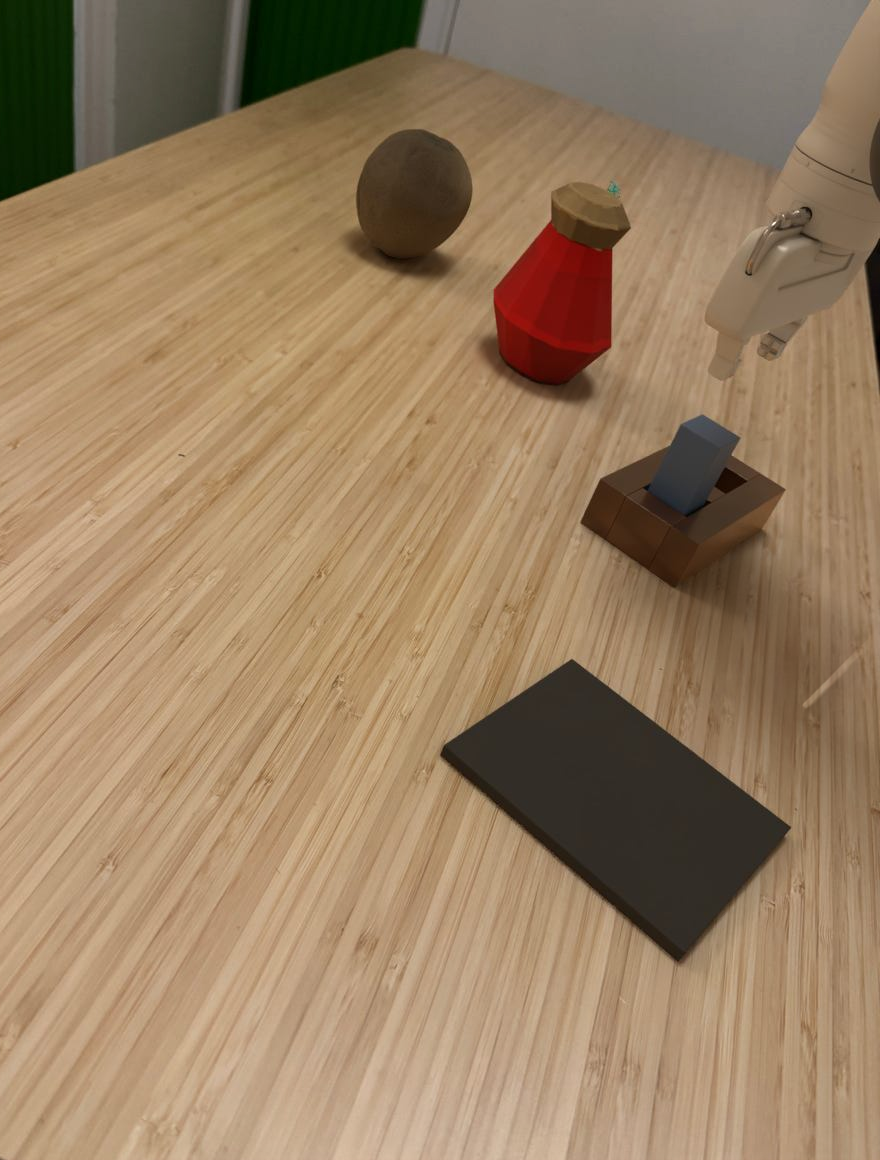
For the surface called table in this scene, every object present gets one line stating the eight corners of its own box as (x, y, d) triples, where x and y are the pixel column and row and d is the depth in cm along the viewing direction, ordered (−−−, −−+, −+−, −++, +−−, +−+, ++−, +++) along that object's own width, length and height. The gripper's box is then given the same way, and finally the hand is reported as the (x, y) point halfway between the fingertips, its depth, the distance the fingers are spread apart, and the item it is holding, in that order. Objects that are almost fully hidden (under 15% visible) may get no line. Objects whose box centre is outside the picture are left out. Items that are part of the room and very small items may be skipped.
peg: (683, 543, 100) (741, 437, 93) (662, 556, 98) (720, 448, 90) (648, 519, 102) (702, 413, 94) (626, 531, 99) (680, 423, 92)
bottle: (615, 398, 121) (690, 230, 108) (525, 402, 114) (595, 223, 101) (541, 330, 130) (602, 168, 117) (453, 330, 123) (508, 158, 110)
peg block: (762, 529, 107) (786, 489, 104) (674, 588, 94) (698, 544, 91) (675, 472, 111) (696, 432, 108) (580, 522, 98) (600, 478, 95)
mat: (784, 835, 74) (791, 827, 73) (678, 961, 63) (685, 953, 62) (567, 667, 81) (572, 658, 81) (439, 754, 71) (443, 744, 70)
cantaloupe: (415, 287, 130) (450, 165, 120) (324, 240, 133) (351, 117, 124) (467, 265, 140) (503, 151, 131) (381, 222, 144) (410, 107, 134)
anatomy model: (572, 165, 174) (586, 175, 169) (614, 176, 176) (629, 185, 171) (562, 197, 177) (575, 208, 171) (603, 207, 179) (618, 217, 174)
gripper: (813, 234, 71) (719, 409, 80) (909, 212, 85) (820, 363, 94) (736, 195, 73) (654, 369, 82) (841, 179, 87) (761, 330, 96)
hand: (743, 365), depth 88 cm, fingers open, 8 cm apart
